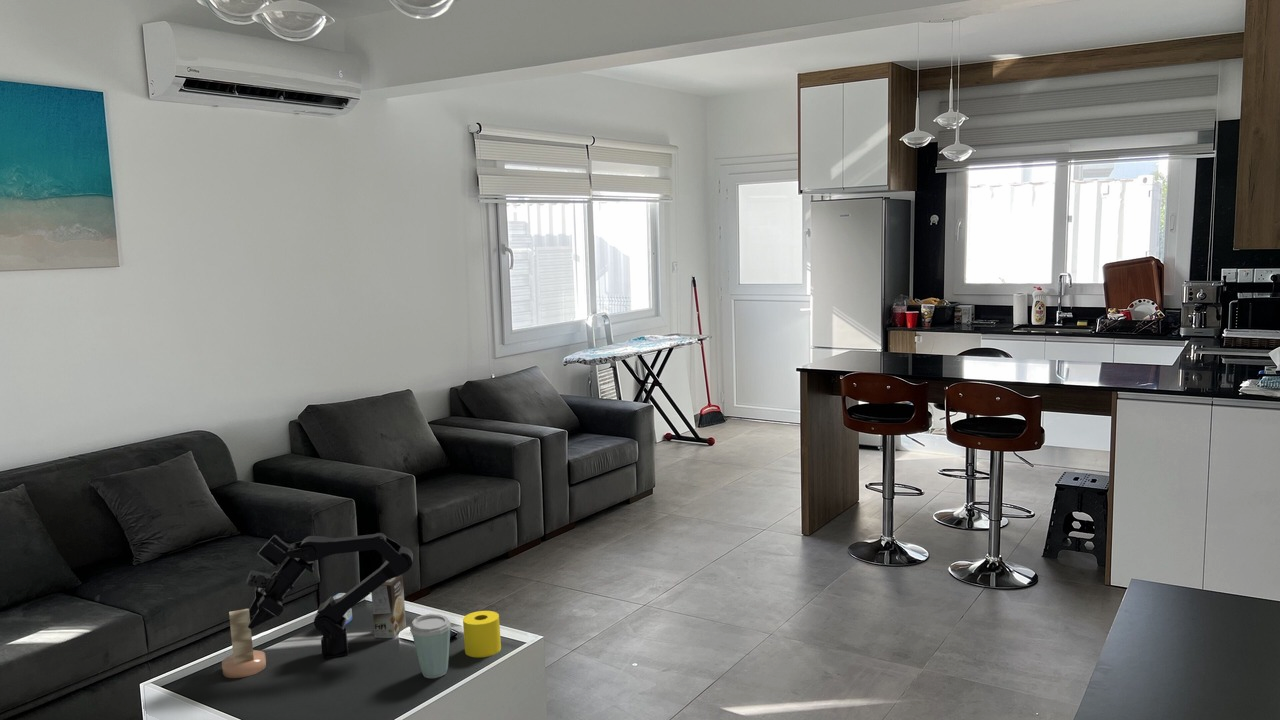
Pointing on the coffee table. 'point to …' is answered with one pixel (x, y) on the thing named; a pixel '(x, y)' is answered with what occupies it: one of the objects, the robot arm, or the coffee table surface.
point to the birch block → (241, 636)
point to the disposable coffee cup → (432, 643)
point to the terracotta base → (244, 666)
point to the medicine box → (349, 613)
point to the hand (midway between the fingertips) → (248, 622)
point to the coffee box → (389, 608)
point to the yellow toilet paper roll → (482, 633)
